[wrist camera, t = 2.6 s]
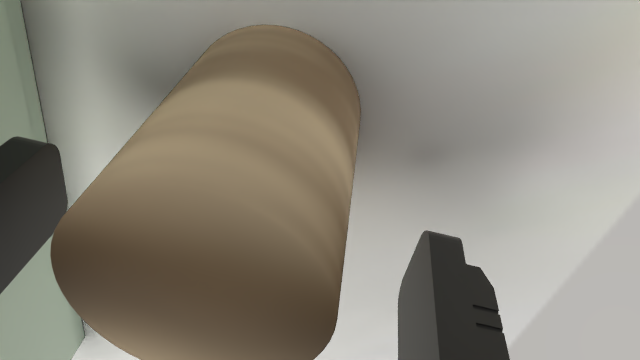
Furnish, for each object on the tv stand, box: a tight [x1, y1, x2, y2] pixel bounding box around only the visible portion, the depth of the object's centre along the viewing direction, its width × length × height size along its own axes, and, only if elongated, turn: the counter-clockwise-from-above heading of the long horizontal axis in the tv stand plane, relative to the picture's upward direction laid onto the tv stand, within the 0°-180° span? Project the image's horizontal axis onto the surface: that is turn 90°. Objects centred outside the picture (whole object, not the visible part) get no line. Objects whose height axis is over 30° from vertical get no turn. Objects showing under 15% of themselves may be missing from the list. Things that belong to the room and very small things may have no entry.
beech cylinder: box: [50, 25, 361, 360], centre depth 11 cm, size 5×5×7 cm
